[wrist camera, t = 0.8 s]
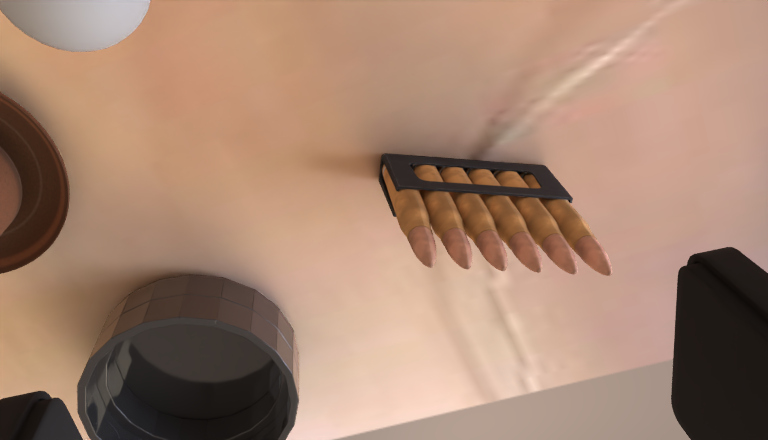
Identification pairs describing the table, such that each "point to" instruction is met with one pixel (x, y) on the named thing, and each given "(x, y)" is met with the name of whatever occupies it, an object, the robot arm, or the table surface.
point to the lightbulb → (76, 21)
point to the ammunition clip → (487, 212)
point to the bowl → (192, 366)
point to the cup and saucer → (28, 187)
